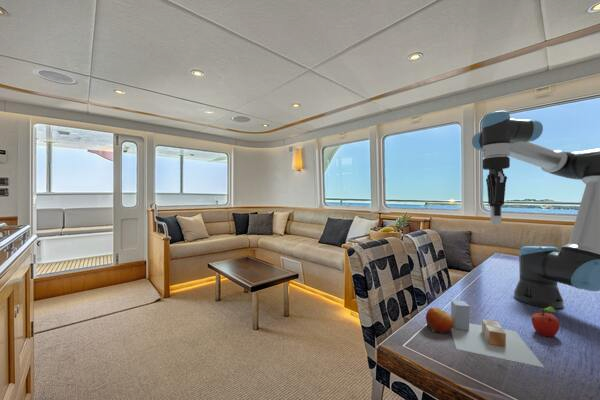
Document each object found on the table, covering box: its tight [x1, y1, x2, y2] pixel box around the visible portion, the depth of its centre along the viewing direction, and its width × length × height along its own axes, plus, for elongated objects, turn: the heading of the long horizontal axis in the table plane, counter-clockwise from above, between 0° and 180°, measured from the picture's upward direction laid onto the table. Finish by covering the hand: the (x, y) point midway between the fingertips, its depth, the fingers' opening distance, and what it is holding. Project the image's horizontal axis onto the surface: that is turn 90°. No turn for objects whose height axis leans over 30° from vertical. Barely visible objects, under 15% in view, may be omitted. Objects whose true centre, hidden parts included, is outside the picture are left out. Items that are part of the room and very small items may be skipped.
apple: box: [531, 307, 561, 338], centre depth 79 cm, size 8×7×10 cm
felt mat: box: [450, 322, 545, 368], centre depth 76 cm, size 19×19×1 cm
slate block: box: [450, 299, 470, 331], centre depth 83 cm, size 4×4×8 cm
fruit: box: [425, 307, 454, 334], centre depth 82 cm, size 8×8×8 cm
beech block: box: [481, 318, 506, 348], centre depth 76 cm, size 4×4×8 cm
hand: (495, 225), depth 89 cm, fingers closed
